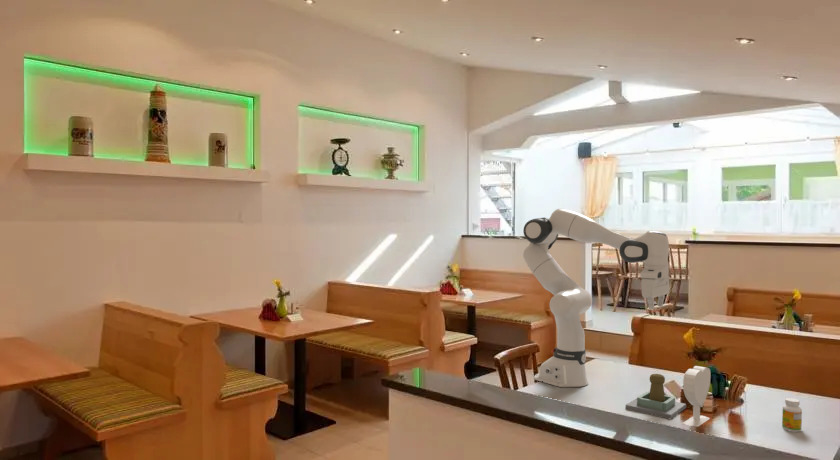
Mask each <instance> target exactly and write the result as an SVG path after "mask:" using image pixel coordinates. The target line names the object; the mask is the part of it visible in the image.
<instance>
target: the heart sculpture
mask: <svg viewBox="0 0 840 460" xmlns="http://www.w3.org/2000/svg"><path fill="white" fill-rule="evenodd" d="M711 378H712V377H711V369H710V368H709V367H705V366H699V365H694V366H693V368H688V369H687V370H686V371H685V373H684V374H683V379H682V380H683V381H682V383H683V385H682V386H683V393H684V397H685V398H686V400H687V401H688V403H690V405H691V406H692V407H693V409H692V416H690V418H688V419H687V420H685V421H683V422H682V424H684V425H687V426H690V427H697V428H699V427H700V426H701V425H702V424H704V423H705V422H707V421H709V420H710V419H711V418H710V417H708V416H706V415H701V408H703V406H704V403H705V402H706V399H707V397H708V393H709V390H710V386H711Z"/></svg>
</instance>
